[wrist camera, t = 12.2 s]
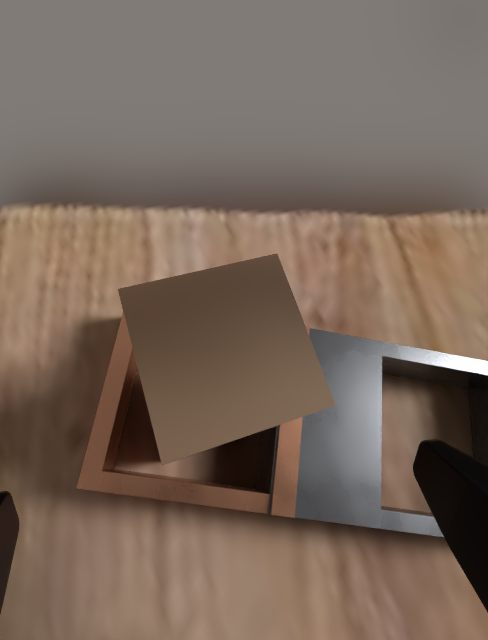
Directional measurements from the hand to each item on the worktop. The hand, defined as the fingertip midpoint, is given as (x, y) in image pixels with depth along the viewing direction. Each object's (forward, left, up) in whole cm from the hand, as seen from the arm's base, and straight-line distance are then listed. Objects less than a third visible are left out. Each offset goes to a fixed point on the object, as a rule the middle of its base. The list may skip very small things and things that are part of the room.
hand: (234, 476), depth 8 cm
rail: (+3, -5, -11) cm, 13 cm away
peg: (+3, +1, -11) cm, 12 cm away
